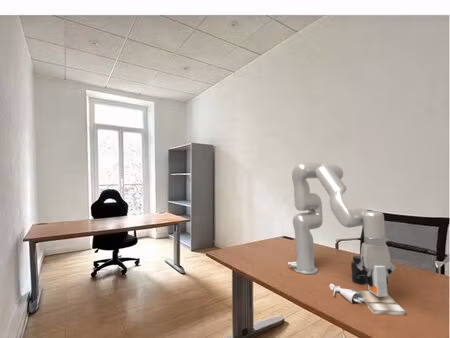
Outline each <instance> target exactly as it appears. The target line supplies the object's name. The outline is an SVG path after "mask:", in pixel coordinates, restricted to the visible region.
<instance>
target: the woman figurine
mask: <svg viewBox="0 0 450 338" xmlns="http://www.w3.org/2000/svg"><path fill="white" fill-rule="evenodd" d="M329 289H330V290H331V291H333V296H335V295H336V293H337V292H338V293H340V295H341V296H342V297H343V298H345V299H346V300H347V301H348V302H350V303H351V304H353V301H354V302H355V303H358V304H361V303H362V302H364V303H365V298H363V296H362V294H361V293H358V291H355V290H354V289H349V288H341V285H338V286H337V285H335V284H333V283H330V284H329Z"/></svg>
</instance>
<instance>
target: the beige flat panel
mask: <svg viewBox="0 0 450 338" xmlns="http://www.w3.org/2000/svg"><path fill="white" fill-rule="evenodd" d="M357 292H358V293H361V294H362V296H363V298H365V302H364V303H365V305H366V306H368V303H386V304H397V302H396V301H395V300H394V299H393V298H392V297H391V296H390V295H389V293H388V292H387V296H382V297H378V296H376V295H375V294H374V293H372V292H371V291H369V290H358V291H357Z"/></svg>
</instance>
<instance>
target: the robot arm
mask: <svg viewBox="0 0 450 338" xmlns="http://www.w3.org/2000/svg"><path fill="white" fill-rule="evenodd" d="M343 177H344V171H343V168H341V166H339V165H338V164H330V163H329V164H328V163H321V162H301V163H299V164H296V166H294V168H293V169H292V173H291V178H292V184H293V193H294V194H293V197H294V207H295V209H296V210H297V211H302V212H301V213H297V214H295V216H293V218H292V225H293V230H294V236H295V237H294V238H295V239H294V241H295V255H296V256H295V258H296V259H295V260H294V261H287V266H290V267H291V268H293V270H294V271H295V272H296V273H298V274H303V275H313V274H316V273H317V272H318V267H316V266H315V252H314V251H315V250H314V238H313V234H312V233H311V230H315V229H318V228H320V227H322V225H323V221H324V220H323V217H324V216H323V203H322V202H323V201H322V199H321V197H320V196H319V194H317V193H314V192H311V191H310V185H309V182H308V180H307V179H318V181H319V182H320V184H321V185H322V187H323V188H324V190H325V191H326V192H327V194H328V196H329V205H330V210H331V212H332V214H333V215H334V216H335V219H336V220H337V221H338V222H339V224H340V225H341V226H343V227H344V228H348V229H349V228H357V227H360V226H361V227H362V226H363V241H364V242H362V244H361V249H360V256H361V261H360V263H359V264H358V265H357V267H358V268H359V269H360V270H361V271H363V272H364V273H365V274H366V282H367V286H368V285H369V286H372V277H371V271H372V270H373V269H374V266H385V267H386V282H387V285H388V284H389V280H388V278H389V276H390V274H392V272H393V271H396V269H397V268H396V266H395V265H394V264H393V262H392V260H391V254H390V251H389V246H388V245H387V242H388V243H389V241H390V239H389V238H387V237H386V233H385V215H384V213H383V212H382V211H377V210H368V209H363V208H352V209H348V207H347V206H346V205H345V202H344V200H343V194H344V193H345V192H346V191H347V186H346V184H344V182H343V181H342V178H343ZM304 211H305V212H304ZM306 211H307V212H306ZM362 266H365V269H364V268H362Z"/></svg>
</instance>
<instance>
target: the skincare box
mask: <svg viewBox="0 0 450 338" xmlns="http://www.w3.org/2000/svg"><path fill="white" fill-rule="evenodd" d="M371 277H372V286H369V285H368V284H367V286H368V287H367V289H368V290H367V291H371V292H372V293H374V294H375V295H376V296H378V297H382V296H387V293H388V288H387V287H388V284H387V282H386V267H385V266H374V269H373V270H372V271H371Z"/></svg>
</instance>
